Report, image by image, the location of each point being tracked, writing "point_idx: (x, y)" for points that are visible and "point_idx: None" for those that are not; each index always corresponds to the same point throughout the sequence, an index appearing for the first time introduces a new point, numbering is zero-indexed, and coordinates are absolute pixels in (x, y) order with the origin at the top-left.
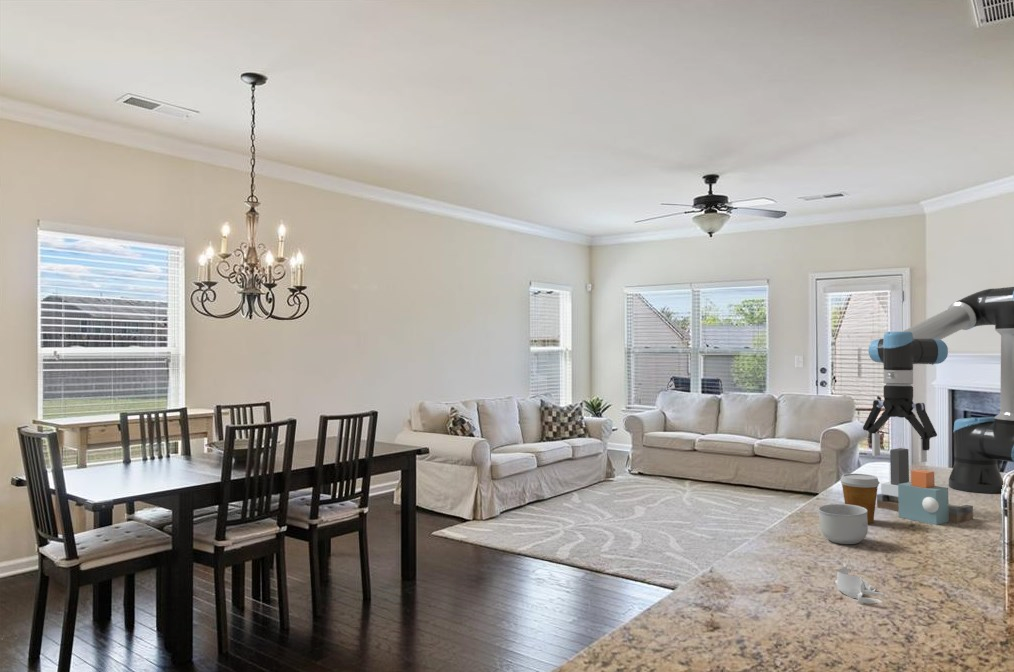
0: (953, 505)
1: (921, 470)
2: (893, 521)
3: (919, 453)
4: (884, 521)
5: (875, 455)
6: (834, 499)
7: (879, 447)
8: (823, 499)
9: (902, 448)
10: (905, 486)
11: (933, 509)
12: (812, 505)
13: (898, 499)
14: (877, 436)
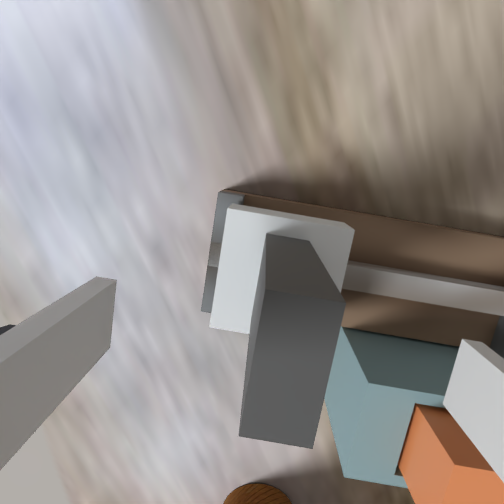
0: (500, 300)
1: (475, 491)
2: (330, 452)
3: (484, 447)
4: (310, 470)
5: (110, 338)
6: (40, 277)
7: (88, 307)
8: (15, 306)
9: (289, 297)
10: (377, 479)
11: None
12: (50, 421)
13: (332, 428)
14: (19, 394)
